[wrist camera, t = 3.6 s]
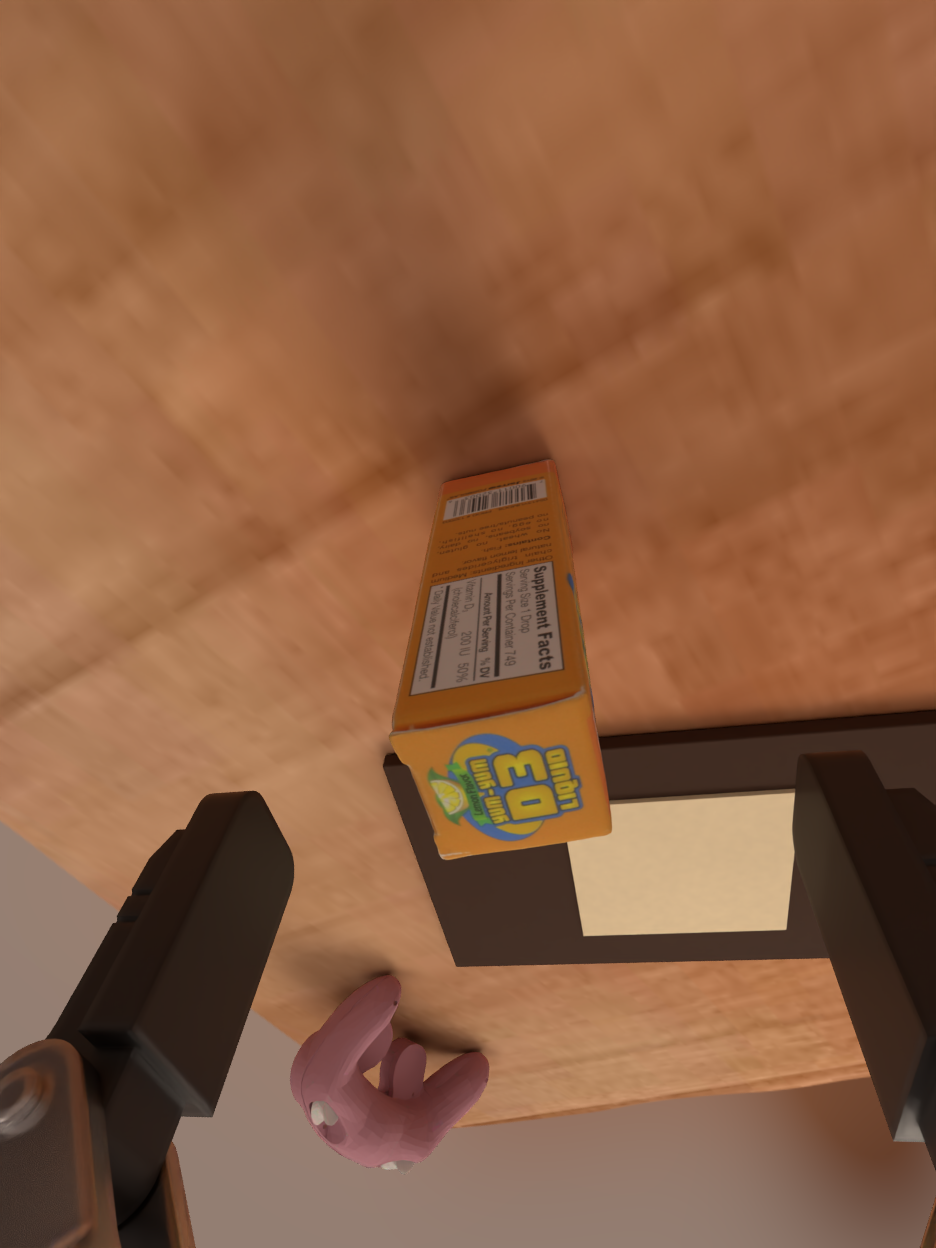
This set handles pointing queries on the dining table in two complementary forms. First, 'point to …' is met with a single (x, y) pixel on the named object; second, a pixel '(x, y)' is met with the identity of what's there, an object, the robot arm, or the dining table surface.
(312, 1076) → the video game controller
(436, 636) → the supplement box
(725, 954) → the desk pad
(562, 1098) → the dining table surface
